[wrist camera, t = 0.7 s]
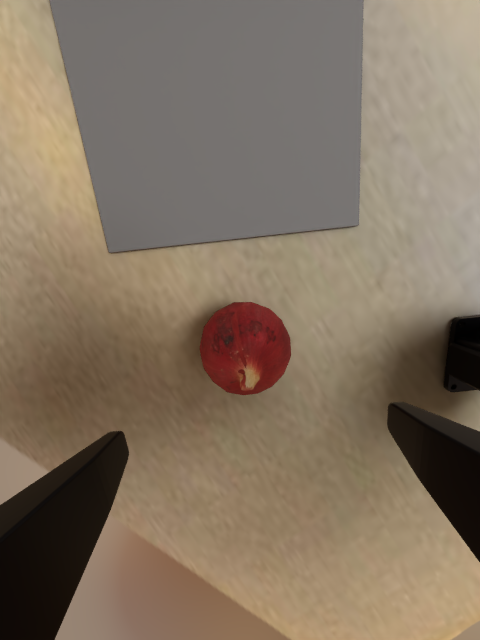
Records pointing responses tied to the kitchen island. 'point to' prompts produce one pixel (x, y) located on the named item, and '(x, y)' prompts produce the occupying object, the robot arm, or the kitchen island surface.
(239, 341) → the onion
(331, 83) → the mat
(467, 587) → the kitchen island surface
